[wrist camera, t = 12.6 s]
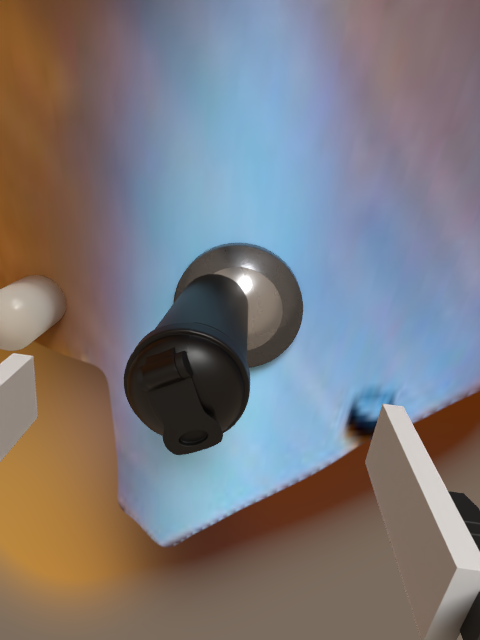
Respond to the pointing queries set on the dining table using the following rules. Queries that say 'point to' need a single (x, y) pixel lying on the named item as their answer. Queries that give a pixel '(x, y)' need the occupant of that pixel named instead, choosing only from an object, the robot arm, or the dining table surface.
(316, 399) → the dining table surface
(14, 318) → the white rounded capsule
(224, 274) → the grey plate
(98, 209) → the dining table surface
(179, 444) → the water bottle
